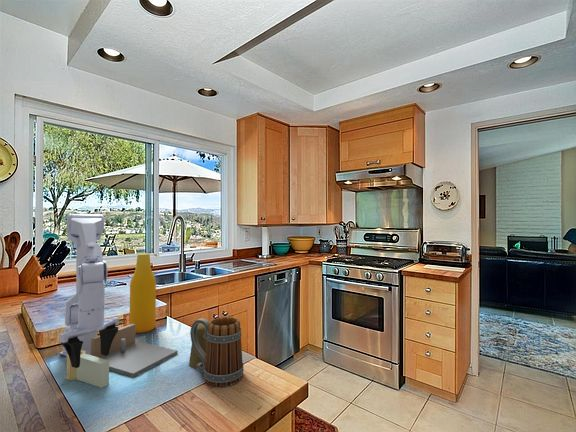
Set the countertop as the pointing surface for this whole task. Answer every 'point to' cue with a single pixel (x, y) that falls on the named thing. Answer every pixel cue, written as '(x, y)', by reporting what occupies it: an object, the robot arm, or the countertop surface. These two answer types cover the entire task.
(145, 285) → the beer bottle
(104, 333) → the robot arm
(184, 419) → the countertop surface
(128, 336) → the cabinet base
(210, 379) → the mug
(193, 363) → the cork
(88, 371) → the door
